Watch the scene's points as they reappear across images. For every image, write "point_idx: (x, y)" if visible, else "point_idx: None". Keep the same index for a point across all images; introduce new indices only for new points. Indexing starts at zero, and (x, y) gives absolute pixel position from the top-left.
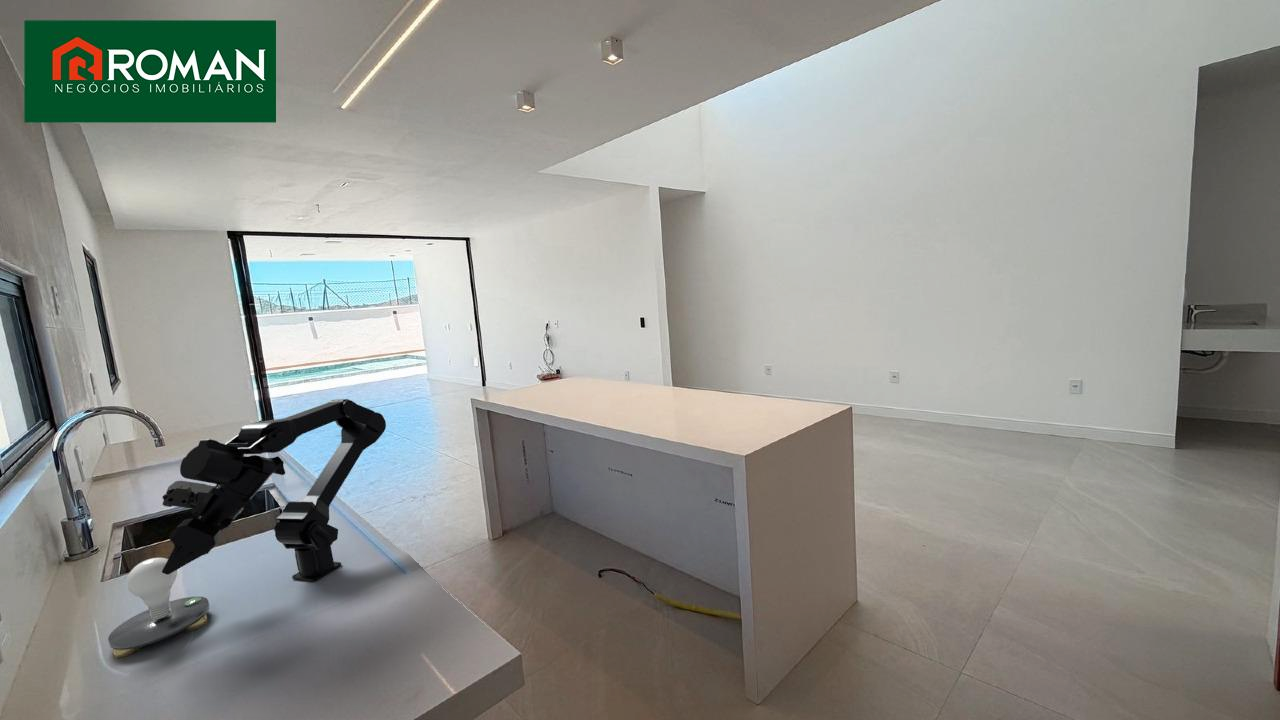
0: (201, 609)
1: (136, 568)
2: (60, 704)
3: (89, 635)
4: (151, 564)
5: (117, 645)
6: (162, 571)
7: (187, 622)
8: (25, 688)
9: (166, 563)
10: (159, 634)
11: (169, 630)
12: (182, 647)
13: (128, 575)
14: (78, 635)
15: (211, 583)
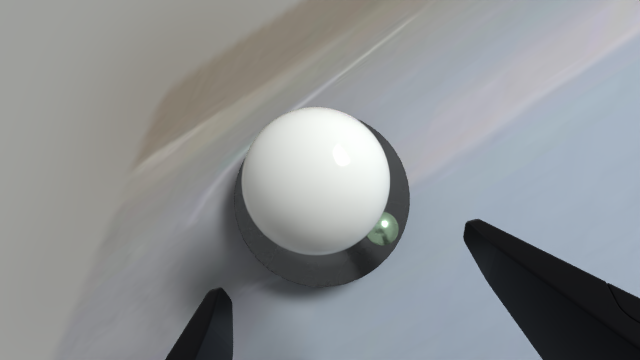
0: (331, 278)
1: (269, 145)
2: (145, 160)
3: (360, 45)
4: (278, 202)
5: (243, 164)
6: (206, 295)
7: (281, 276)
8: (219, 62)
9: (175, 345)
10: (246, 240)
11: (255, 254)
12: (243, 281)
13: (273, 120)
14: (368, 23)
15: (519, 175)
